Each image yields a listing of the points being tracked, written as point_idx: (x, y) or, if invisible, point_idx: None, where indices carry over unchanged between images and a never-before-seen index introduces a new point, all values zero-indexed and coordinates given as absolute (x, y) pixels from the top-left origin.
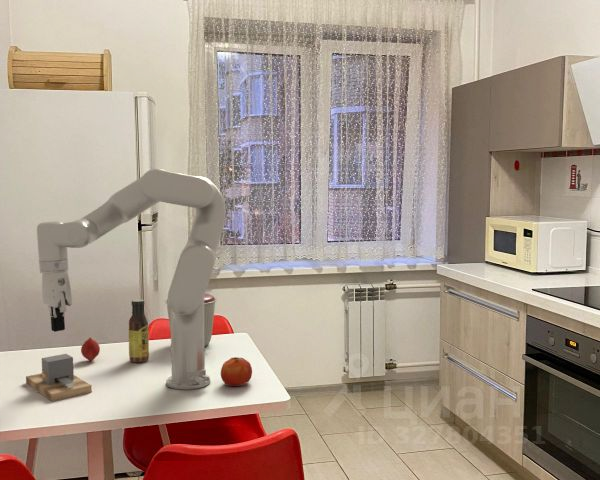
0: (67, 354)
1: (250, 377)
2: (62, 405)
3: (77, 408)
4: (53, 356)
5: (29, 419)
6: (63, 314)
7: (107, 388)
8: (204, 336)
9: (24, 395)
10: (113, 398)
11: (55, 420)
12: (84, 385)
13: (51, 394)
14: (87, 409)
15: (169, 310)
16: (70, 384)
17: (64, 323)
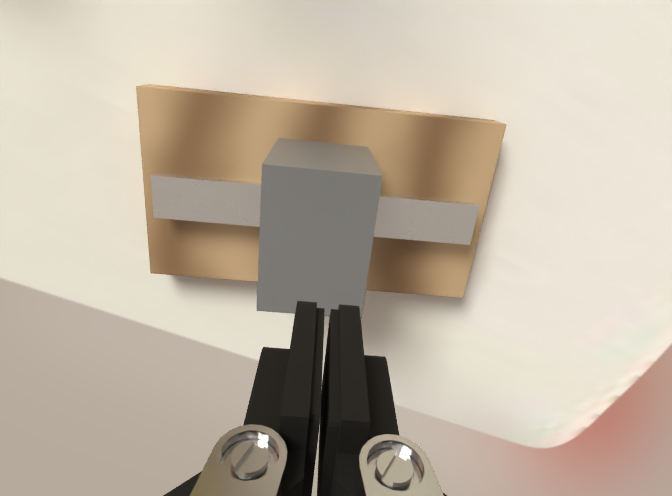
0: (289, 167)
1: None
2: (523, 276)
3: (599, 254)
4: (269, 250)
5: (541, 392)
6: (429, 481)
7: (510, 30)
8: None
9: None
10: (645, 93)
11: (621, 348)
12: (480, 150)
13: (457, 295)
14: (641, 235)
15: None
16: (472, 223)
17: (361, 344)
